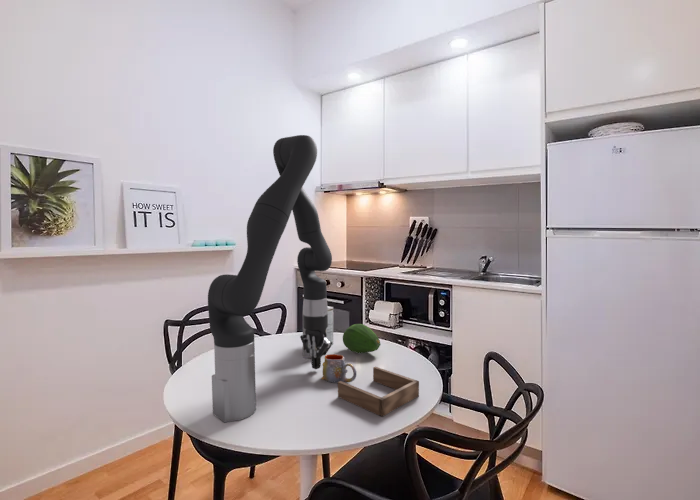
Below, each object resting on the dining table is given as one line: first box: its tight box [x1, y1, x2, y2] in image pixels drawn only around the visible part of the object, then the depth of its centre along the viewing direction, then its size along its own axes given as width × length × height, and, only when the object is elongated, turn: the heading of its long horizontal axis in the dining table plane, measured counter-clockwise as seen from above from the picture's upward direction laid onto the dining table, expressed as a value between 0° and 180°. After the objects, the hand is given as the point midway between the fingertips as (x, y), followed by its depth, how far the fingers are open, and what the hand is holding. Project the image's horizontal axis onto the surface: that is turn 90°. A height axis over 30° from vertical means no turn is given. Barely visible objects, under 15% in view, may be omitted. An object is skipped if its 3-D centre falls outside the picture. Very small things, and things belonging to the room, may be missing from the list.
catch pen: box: [337, 366, 420, 417], centre depth 99 cm, size 15×15×4 cm
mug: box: [321, 353, 357, 383], centre depth 109 cm, size 12×7×7 cm, turn 45°
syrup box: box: [327, 306, 334, 345], centre depth 143 cm, size 6×6×14 cm
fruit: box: [342, 323, 381, 354], centre depth 133 cm, size 15×10×10 cm, turn 41°
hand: (316, 368), depth 117 cm, fingers closed
